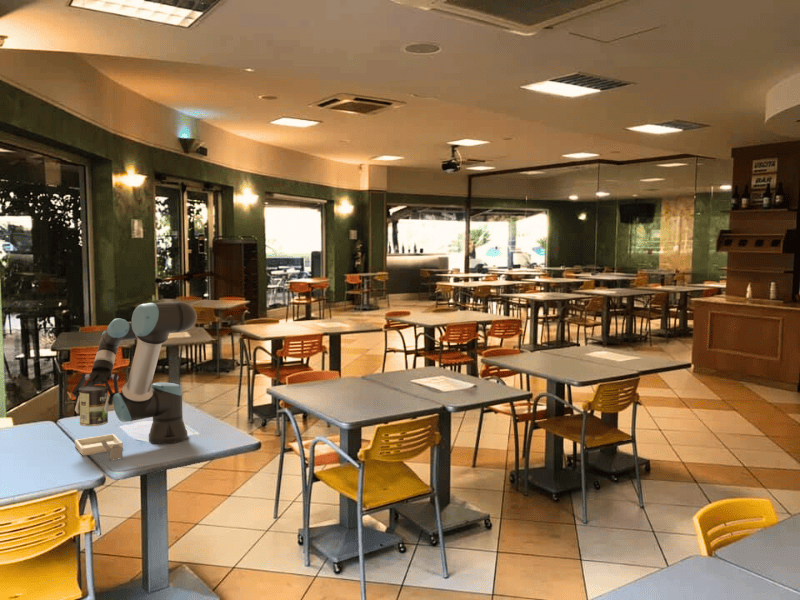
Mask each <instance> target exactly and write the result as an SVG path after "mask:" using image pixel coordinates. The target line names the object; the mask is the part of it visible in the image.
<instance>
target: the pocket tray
mask: <svg viewBox="0 0 800 600" xmlns="http://www.w3.org/2000/svg"><path fill="white" fill-rule="evenodd" d="M103 440H105V441H106V442H107V444H108V446H109V447H110V448H113V445H120V446H121V447H122V450H123V449H124V445H123V444H124V443H123V442H122V440H121V439H120V438H119V437H117V435H116V434H115V433H109V434H104V435H98V436H91V437H86V438H79V439H74V448H76V449H78V450H77V451H78V452H79V454H80V453H81V454H82V455H85V456H91V455H95V453H97V454H101V453H100V452H103V453H106V452H107V451H106V449H105V448H104V446H103V445H102V443H101V441H103ZM109 452H110V450H109ZM107 453H108V452H107ZM81 454H80V455H81ZM82 455H81V456H82Z"/></svg>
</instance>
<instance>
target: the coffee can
mask: <svg viewBox="0 0 800 600" xmlns="http://www.w3.org/2000/svg"><path fill="white" fill-rule="evenodd" d="M83 386H84V385H83ZM79 393H80V410H79V425H80V426H83V427H97V426H98V427H99V426H104V425H106V424H108V423H109V418H108V417H109V415H108V414H109V412H108V413H105V411H104V407H105V403H106V399H107V395H109V394H108V393H109V392H108V387H107V386H106V385H104V384H95V385H92V386H84V387H81V388H79Z"/></svg>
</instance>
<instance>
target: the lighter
mask: <svg viewBox="0 0 800 600" xmlns="http://www.w3.org/2000/svg"><path fill="white" fill-rule="evenodd" d="M101 443H102V445H103V446H104V448H105V449H106V451H109V450H110V451H109V460H110V459H111V460H112V461H114V460H113V459H117V460H119V459H118V458H122V459H123V449H122V447H121V446H120V445H113V448H110V447H109V446H108V444H107V442H106V441H105V440H103V441H101ZM111 460H110V461H111Z"/></svg>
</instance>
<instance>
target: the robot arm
mask: <svg viewBox="0 0 800 600" xmlns="http://www.w3.org/2000/svg"><path fill="white" fill-rule="evenodd" d="M131 316H132V317H131V321H127V320H126V319H123V318H120V317H119V318H118V317H117V318H114V319H113V320H112V321H110V323H109V324H108V326H107V329H106V330H104V331H103V332H102V334H101V336H100V338H99V343H98V347H97V351H96V355H95V358H94V362H93V365H92V369H91V372H90V373H87V374H86V373H85V372H83V373H82V374H81V378H80V379H79V381H78V382H77V384H76V385H75V387H74V389H73V390H72V391H71V393H72V395H73V398H75V400H74V404H75V407H74V411H75V412H76V414H80V393H79V388H81V387H84V386H92V385H104V384H105V385H104V386H107V387H108V393H109V394H108V395H107V399H106V403H105V407H104V411H105V413H108V414H109V409H110V406H111V405H113V409H114V413H115V416H116V417H117V419H118V420H119V421H120V422H122V423H127V422H133V421H138V420H142V419H143V420H145V419H149V418H152V424H151V427H150V430H149V433H148V441H149V442H150V443H151V444H157V445H166V444H175V443H179V442H182V441H185V440H186V439H188V430H187V429H186V428H187V427H186V425H185V421H184V417H183V416H184V415H183V389H182V387H181V385H180V384H178V383H173V382H166V381H165V382H164V381H163V382H153V379H154V375H155V371H156V369H157V364H158V360H159V356H160V353H161V349H162V345H163V344H164V343H165V344H166V342H167V341H168V338H169V334H172V333H173V334H174V333H183V332H185V331H188V330H190V329H191V328H193V327H194V326H195V325H196V323H197V319H198V315H197V311H196V309H195V308H194V307H193V306H192V305H191V304H190V303H187V302H185V301H178V300H177V301H166V302H165V301H164V302H155V303H154V302H147V303H142V304H139V305H137V307H135V309H134V310H133V312H132V315H131ZM133 340H137V342H136V347H135V351H134V356H133V360H132V363H131V367H130V371H129V375H128V380H127V382H126V383H125V384H123V385H122V388H121V391H120V390H119V378H120V377H119V373H118V372H117V373H114V374H113V370H114V364H115V361H116V357H117V352H118V350H119V347H120V345H121V343H123V341H133ZM111 379H112V380H113V388H114V392H113V391H112V389H111V387H110V384H109V382H108V381H110V380H111ZM152 382H153V383H152ZM85 383H86V384H85Z"/></svg>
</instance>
